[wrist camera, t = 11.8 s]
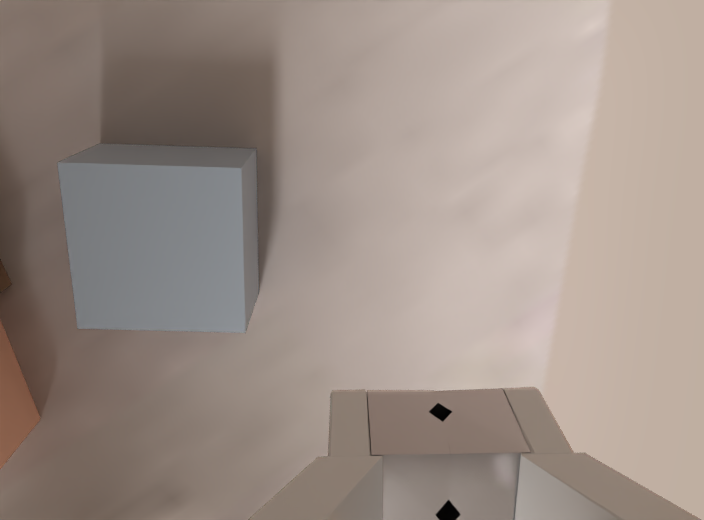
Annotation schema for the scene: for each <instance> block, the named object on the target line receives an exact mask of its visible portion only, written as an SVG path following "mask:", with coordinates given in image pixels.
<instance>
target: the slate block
mask: <svg viewBox="0 0 704 520" xmlns="http://www.w3.org/2000/svg"><path fill="white" fill-rule="evenodd" d="M57 165H58V173H59V181H60V189H61V198H62V206H63V214H64V222H65V230H66V238H67V246H68V255H69V263H70V271H71V279H72V287H73V295H74V303H75V312H76V320H77V328H78V329H110V330H150V331H190V332H230V333H246V330H247V327H248V324H249V321H250V318H251V315H252V312H253V309H254V306H255V303H256V300H257V297H258V294H259V268H258V209H257V150H256V148H228V147H196V146H164V145H133V144H101V143H100V144H97V145H95V146H93V147H91V148H88V149H86V150H84V151H82V152H79V153H77V154H75V155H73V156H70V157H68V158H66V159H64V160H61V161H59V162H57Z"/></svg>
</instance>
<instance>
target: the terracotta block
mask: <svg viewBox="0 0 704 520" xmlns="http://www.w3.org/2000/svg"><path fill="white" fill-rule="evenodd" d="M40 419H41V418H40V416H39V413H38V411H37V408H36V406H35V403H34V401H33V398H32V396H31V394H30V391H29V389H28V386H27V384H26V381H25V379H24V376H23V374H22V371H21V369H20V367H19V364H18V362H17V359H16V357H15V354H14V352H13V349H12V347H11V344H10V342H9V339H8V337H7V335H6V332H5V330H4V327H3V325H2V322H1V320H0V469H1V468H2V467H3V465H4V464H5V463H6V462H7V460H8V459H9V458H10V457H11V455H12V454H13V453H14V452H15V450H16V449H17V448H18V447H19V445H20V444H21V443H22V442H23V440H24V439H25V438H26V437H27V435H28V434H29V433H30V432H31V430H32V429H33V428H34V427H35V425H36V424H37V423H38V422H39V420H40Z"/></svg>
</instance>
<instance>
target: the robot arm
mask: <svg viewBox="0 0 704 520" xmlns="http://www.w3.org/2000/svg"><path fill="white" fill-rule="evenodd" d="M249 520H701V519H699V518H697V517H696V516H694V515H692V514H690V513H689V512H687V511H685V510H684V509H681V508H680V507H678V506H677V505H675V504H673V503H671V502H670V501H668V500H666V499H664V498H663V497H661V496H659V495H657V494H656V493H654V492H652V491H650V490H649V489H647V488H645V487H643V486H642V485H640V484H638V483H636V482H635V481H633V480H631V479H629V478H628V477H626V476H624V475H622V474H621V473H619V472H617V471H615V470H614V469H612V468H610V467H609V466H607V465H605V464H603V463H602V462H600V461H598V460H596V459H595V458H593V457H591V456H589V455H588V454H586V453H574V452H573V450H572V448H571V447H570V445H569V443H568V441H567V440H566V438H565V436H564V434H563V432H562V431H561V429H560V427H559V425H558V423H557V422H556V420H555V418H554V416H553V414H552V413H551V411H550V409H549V407H548V405H547V404H546V402H545V400H544V398H543V397H542V395H541V393H540V391H539V389H537V388H535V387H520V388H499V389H474V390H448V391H434V390H367V392H366V391H365V389H363V390H332V392H331V396H330V420H329V444H328V457H317V458H316V459H315V460H314V461H313V462H312V463H311V464H309V465H308V466H307V467H306V468H305V469H304V470H303V471H302V472H301V473H299V474H298V475H297V476H296V477H295V478H294V479H293V480H292V481H291V482H290V483H288V484H287V485H286V486H285V487H284V488H283V489H282V490H281V491H280V492H278V493H277V494H276V495H275V496H274V497H273V498H272V499H271V500H270V501H269V502H267V503H266V504H265V505H264V506H263V507H262V508H261V509H260V510H259V511H257V512H256V513H255V514H254V515H253V516H252V517H251V518H250V519H249Z"/></svg>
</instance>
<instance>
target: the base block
mask: <svg viewBox="0 0 704 520" xmlns="http://www.w3.org/2000/svg"><path fill="white" fill-rule="evenodd" d="M11 284H12V283H11V281H10V279H9V277H8V275H7V273H6V270H5V268H4V266H3V264H2V262H1V260H0V292H2V291H3V290H4V289H6V288H7V287H8V286H10V285H11Z"/></svg>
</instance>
